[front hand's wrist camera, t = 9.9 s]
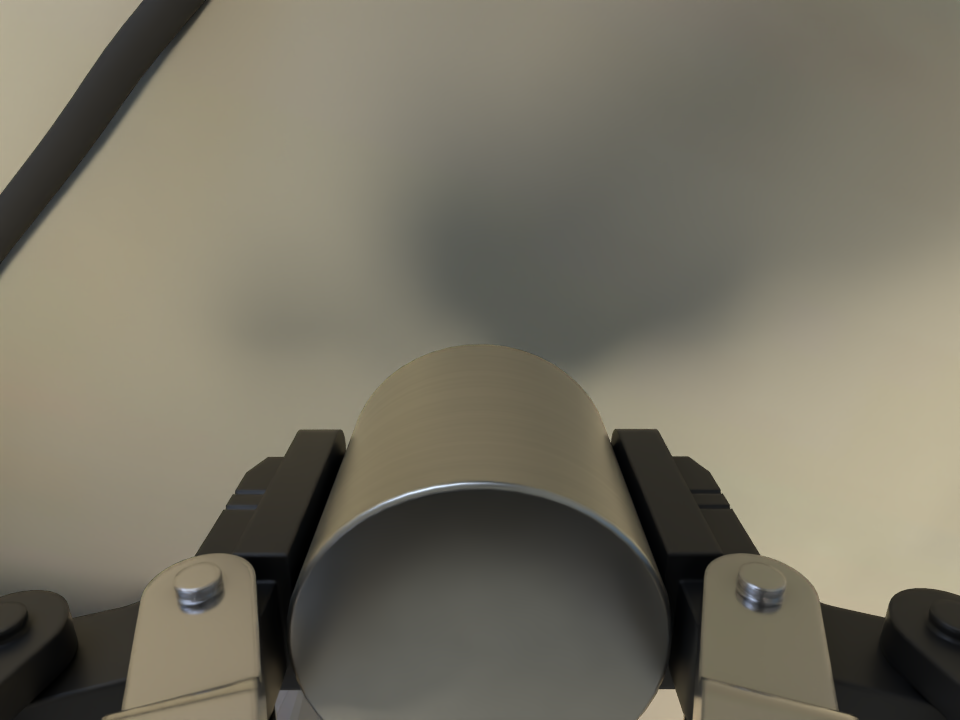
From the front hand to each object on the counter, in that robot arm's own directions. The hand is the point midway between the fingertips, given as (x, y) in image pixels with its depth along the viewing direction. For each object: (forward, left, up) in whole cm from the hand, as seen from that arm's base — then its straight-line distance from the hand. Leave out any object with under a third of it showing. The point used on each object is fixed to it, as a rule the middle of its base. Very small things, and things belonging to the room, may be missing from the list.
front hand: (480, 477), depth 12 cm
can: (0, 0, 0) cm, 1 cm away
